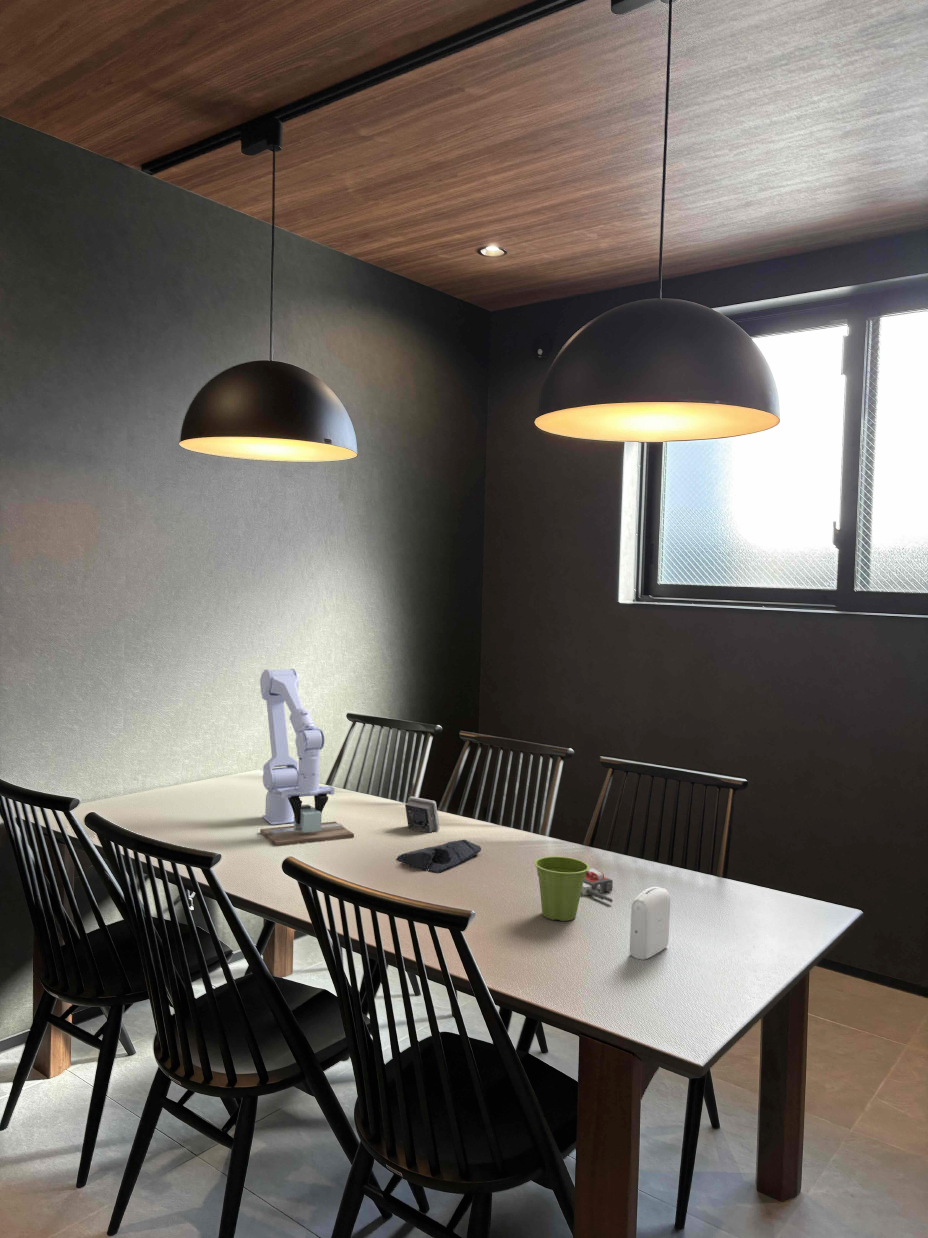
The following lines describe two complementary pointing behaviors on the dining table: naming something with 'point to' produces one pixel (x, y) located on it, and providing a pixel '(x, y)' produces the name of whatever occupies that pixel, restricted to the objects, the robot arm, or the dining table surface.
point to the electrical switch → (422, 814)
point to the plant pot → (560, 885)
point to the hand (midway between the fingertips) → (307, 822)
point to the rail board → (305, 834)
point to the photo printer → (649, 923)
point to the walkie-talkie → (596, 884)
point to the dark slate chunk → (440, 856)
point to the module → (309, 819)
